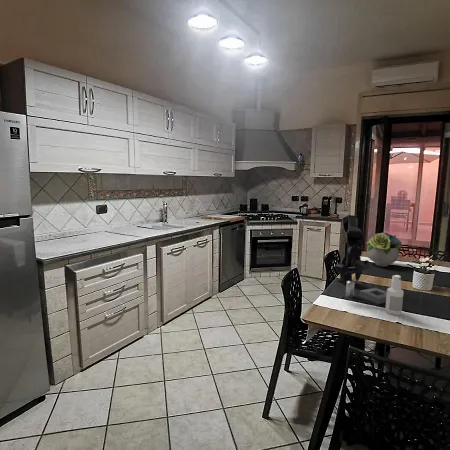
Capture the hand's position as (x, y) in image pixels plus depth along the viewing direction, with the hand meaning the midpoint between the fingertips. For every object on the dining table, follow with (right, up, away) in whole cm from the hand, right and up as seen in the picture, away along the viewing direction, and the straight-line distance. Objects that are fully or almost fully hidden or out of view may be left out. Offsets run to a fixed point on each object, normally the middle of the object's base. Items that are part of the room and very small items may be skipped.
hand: (350, 281), depth 167 cm
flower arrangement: (+48, 0, +63) cm, 79 cm away
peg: (0, -8, +1) cm, 8 cm away
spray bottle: (+12, -11, -19) cm, 26 cm away
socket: (+13, -8, -2) cm, 16 cm away
